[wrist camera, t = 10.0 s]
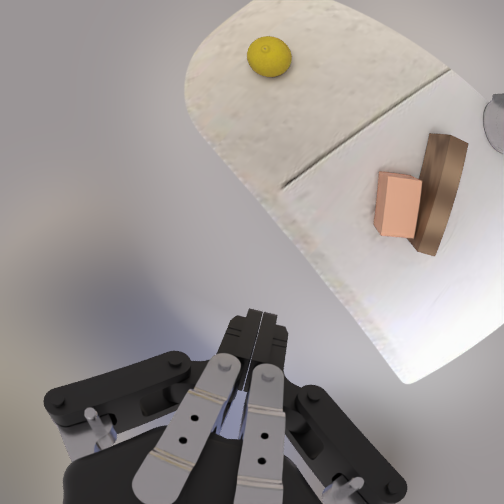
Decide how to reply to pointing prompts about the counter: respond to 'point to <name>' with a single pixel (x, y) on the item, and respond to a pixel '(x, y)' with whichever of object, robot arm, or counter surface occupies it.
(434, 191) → the walnut plank
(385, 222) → the terracotta block
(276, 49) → the lemon
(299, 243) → the counter surface
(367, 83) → the counter surface
